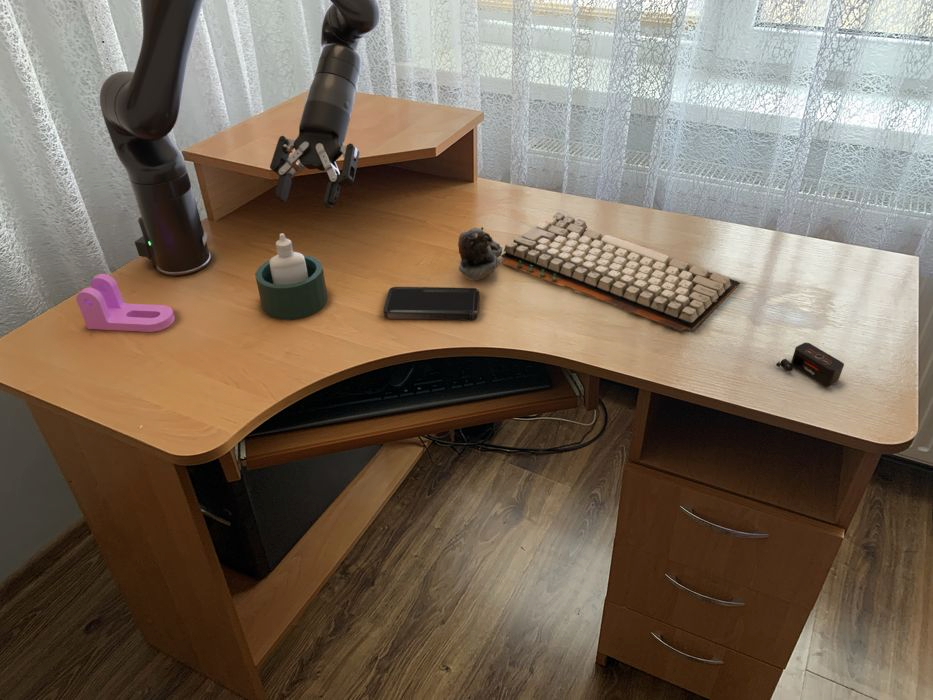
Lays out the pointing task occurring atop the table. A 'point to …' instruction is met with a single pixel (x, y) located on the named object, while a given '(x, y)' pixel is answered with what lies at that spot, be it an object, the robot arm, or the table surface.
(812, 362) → the wireless earbuds
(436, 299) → the phone
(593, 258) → the mechanical keyboard
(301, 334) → the table surface
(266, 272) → the green short hollow cylinder
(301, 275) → the eye dropper bottle
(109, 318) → the bracket
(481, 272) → the bison figurine
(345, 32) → the robot arm
